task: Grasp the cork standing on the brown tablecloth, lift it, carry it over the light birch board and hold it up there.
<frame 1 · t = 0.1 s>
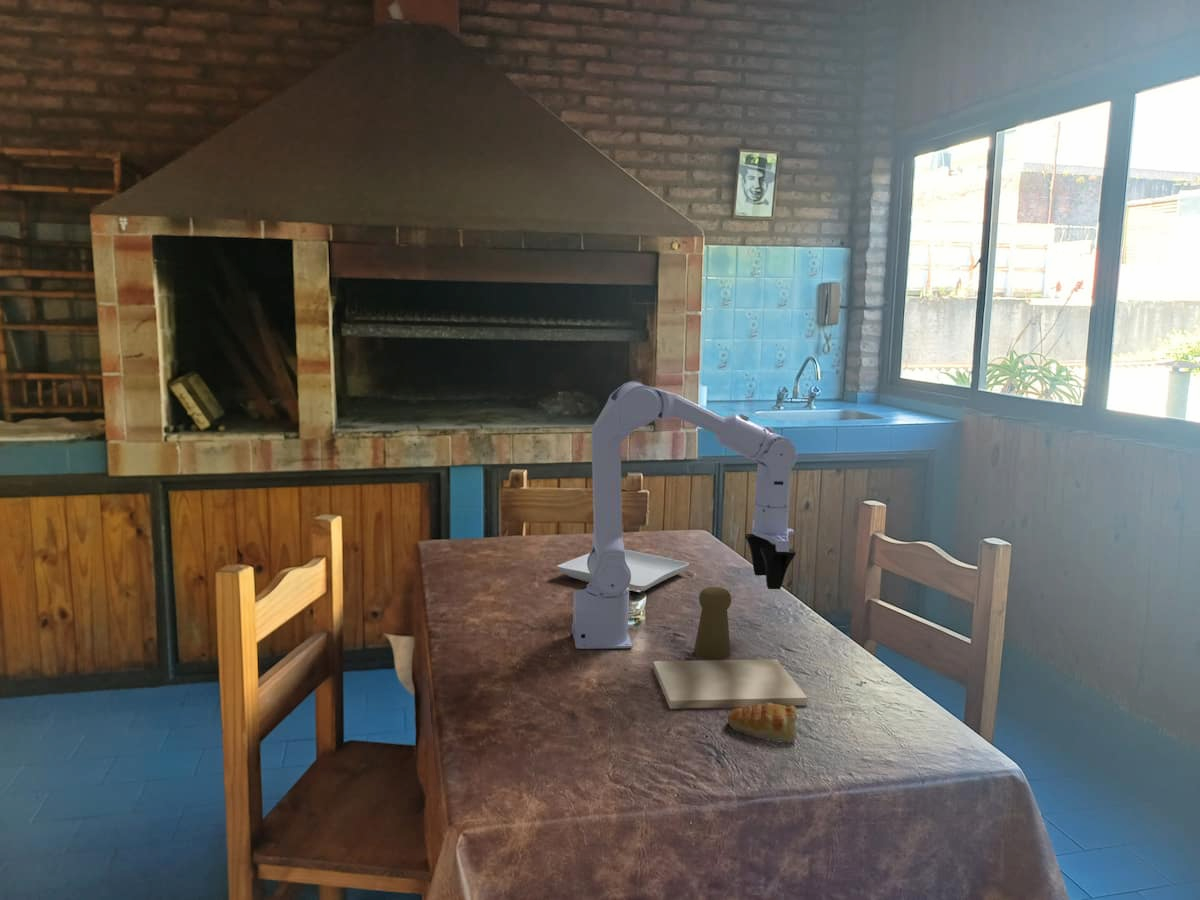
hand: (767, 581, 147), 10 cm above the table, tool pointing down, fingers open, 7 cm apart
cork: (712, 654, 141), on the table
pastry: (767, 733, 115), on the table
birch board: (726, 686, 129), on the table
salad plate: (623, 579, 182), on the table
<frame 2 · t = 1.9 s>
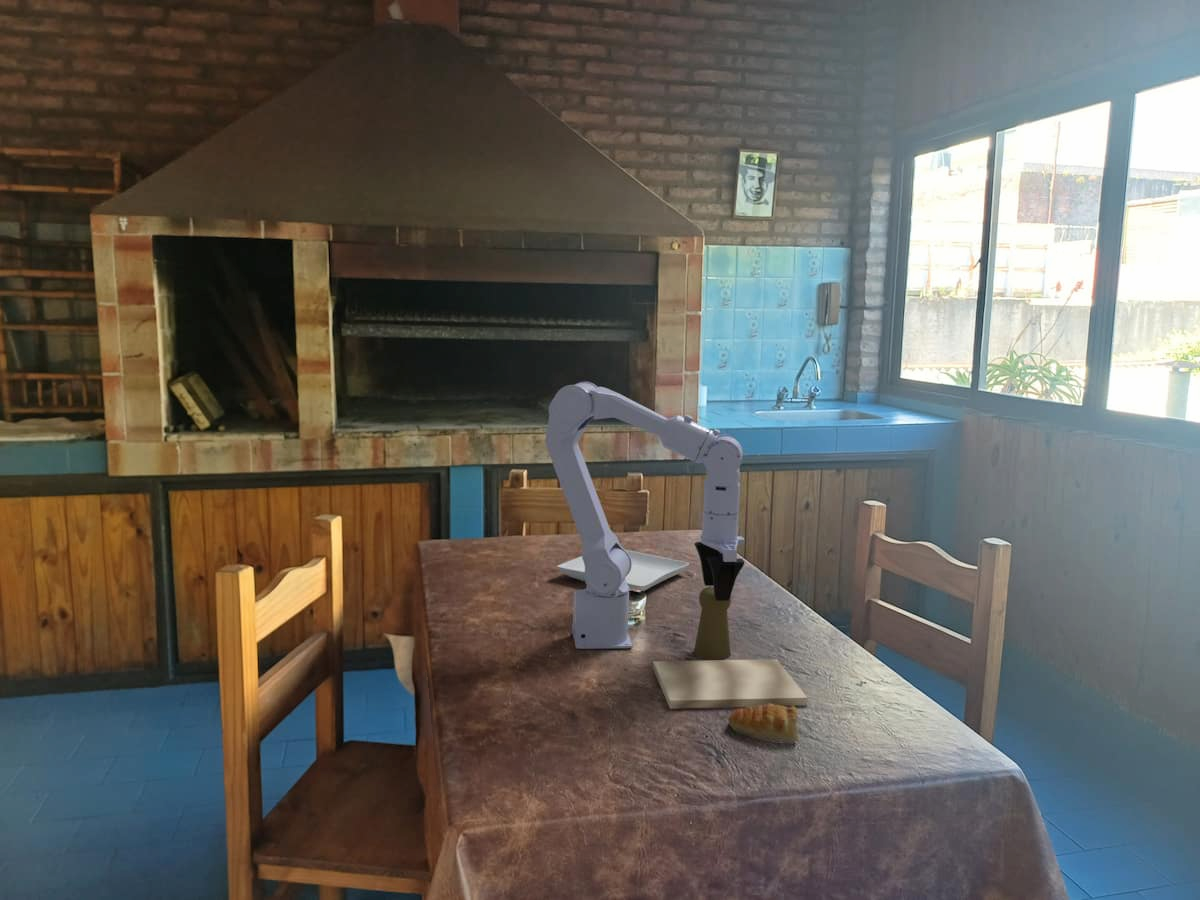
hand: (716, 592, 140), 10 cm above the table, tool pointing down, fingers open, 7 cm apart
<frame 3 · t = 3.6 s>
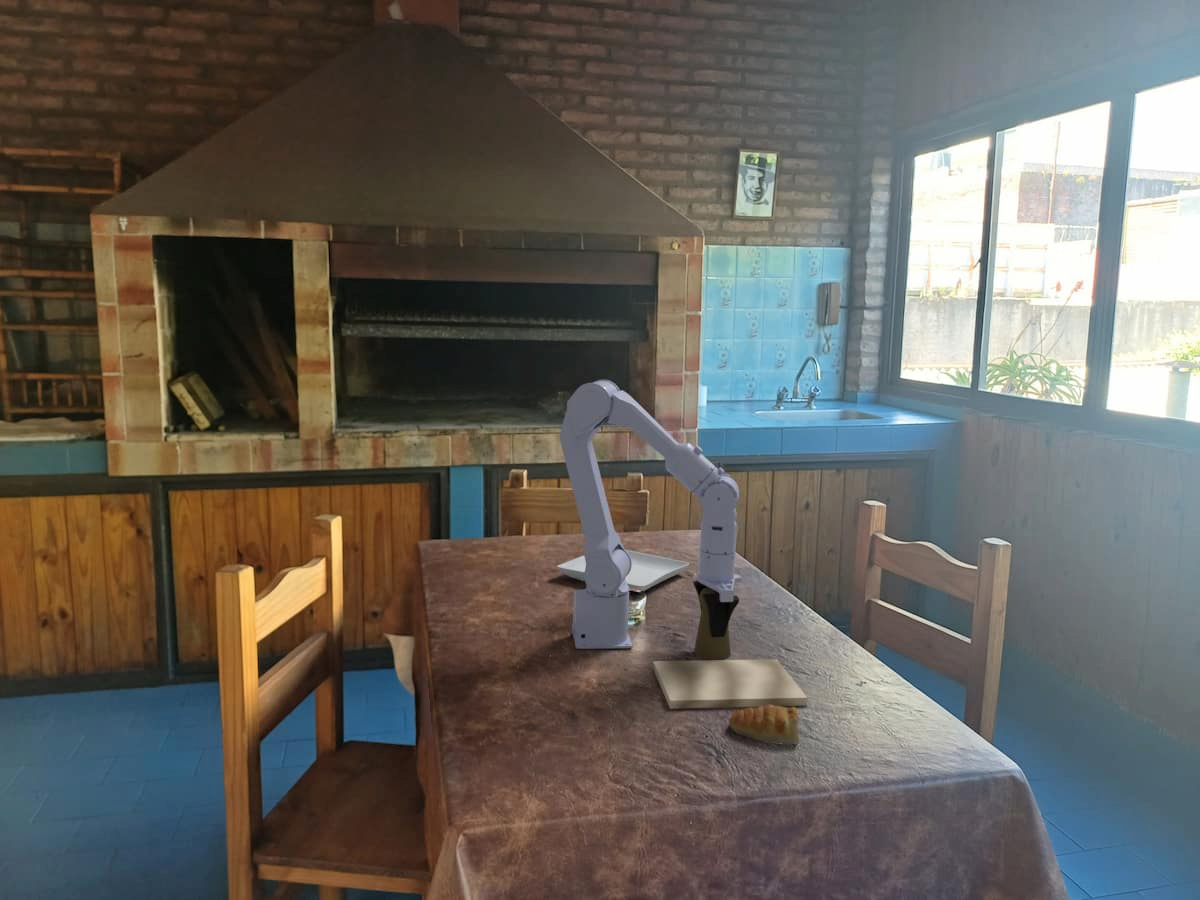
hand: (713, 630, 141), 4 cm above the table, tool pointing down, fingers closed on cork, 5 cm apart
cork: (712, 653, 141), on the table, touching gripper
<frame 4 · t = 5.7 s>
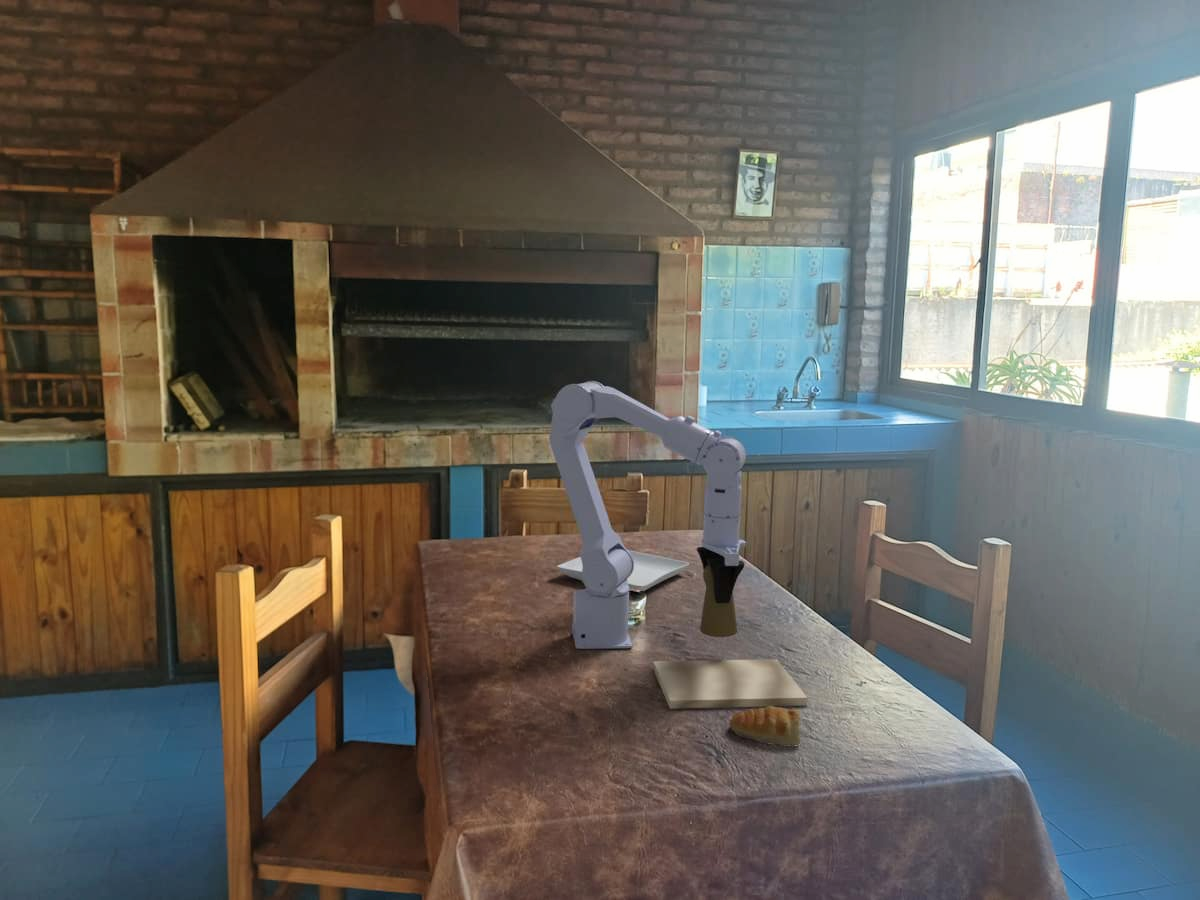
hand: (717, 596, 138), 10 cm above the table, tool pointing down, fingers closed on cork, 5 cm apart
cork: (718, 631, 139), point 5 cm above the table, touching gripper
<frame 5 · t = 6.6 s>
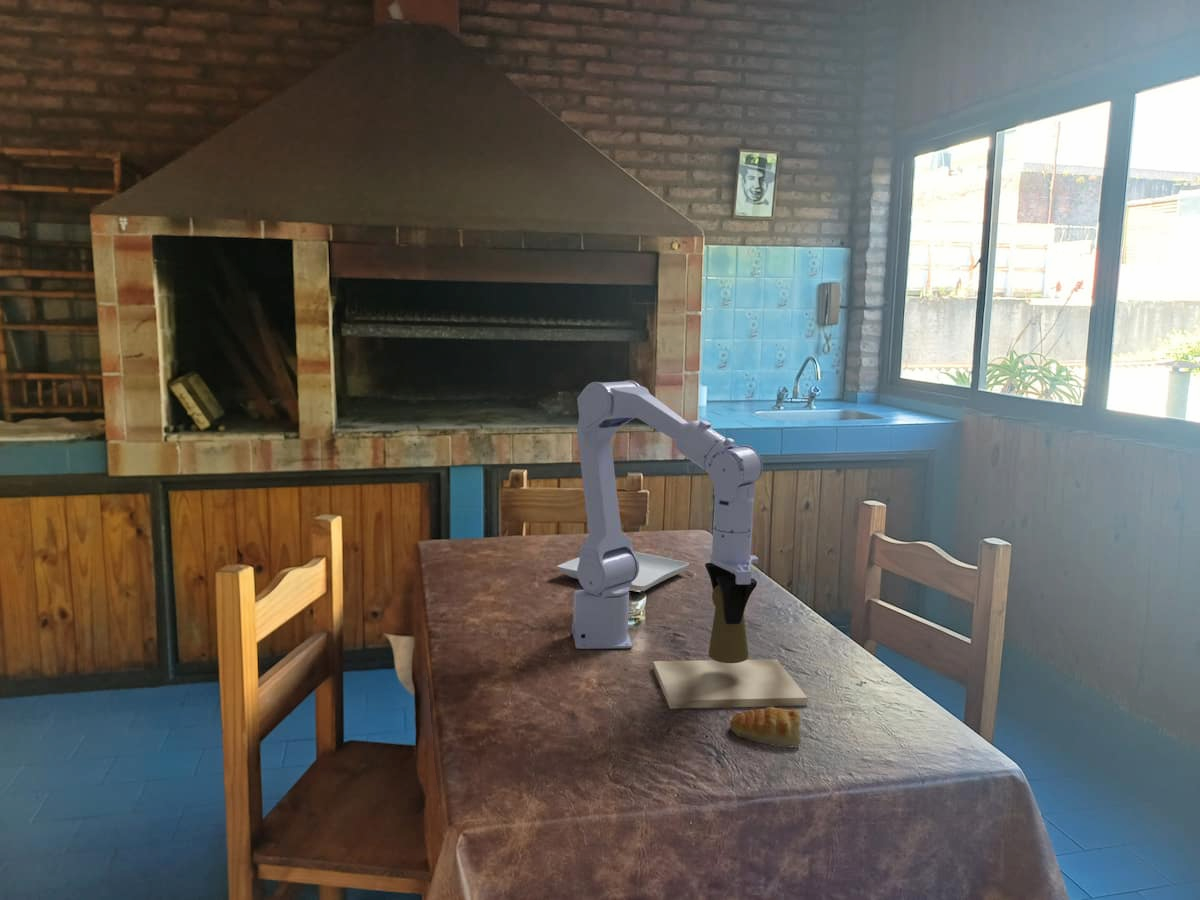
hand: (727, 616, 128), 10 cm above the table, tool pointing down, fingers closed on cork, 5 cm apart
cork: (728, 656, 130), point 4 cm above the table, touching gripper
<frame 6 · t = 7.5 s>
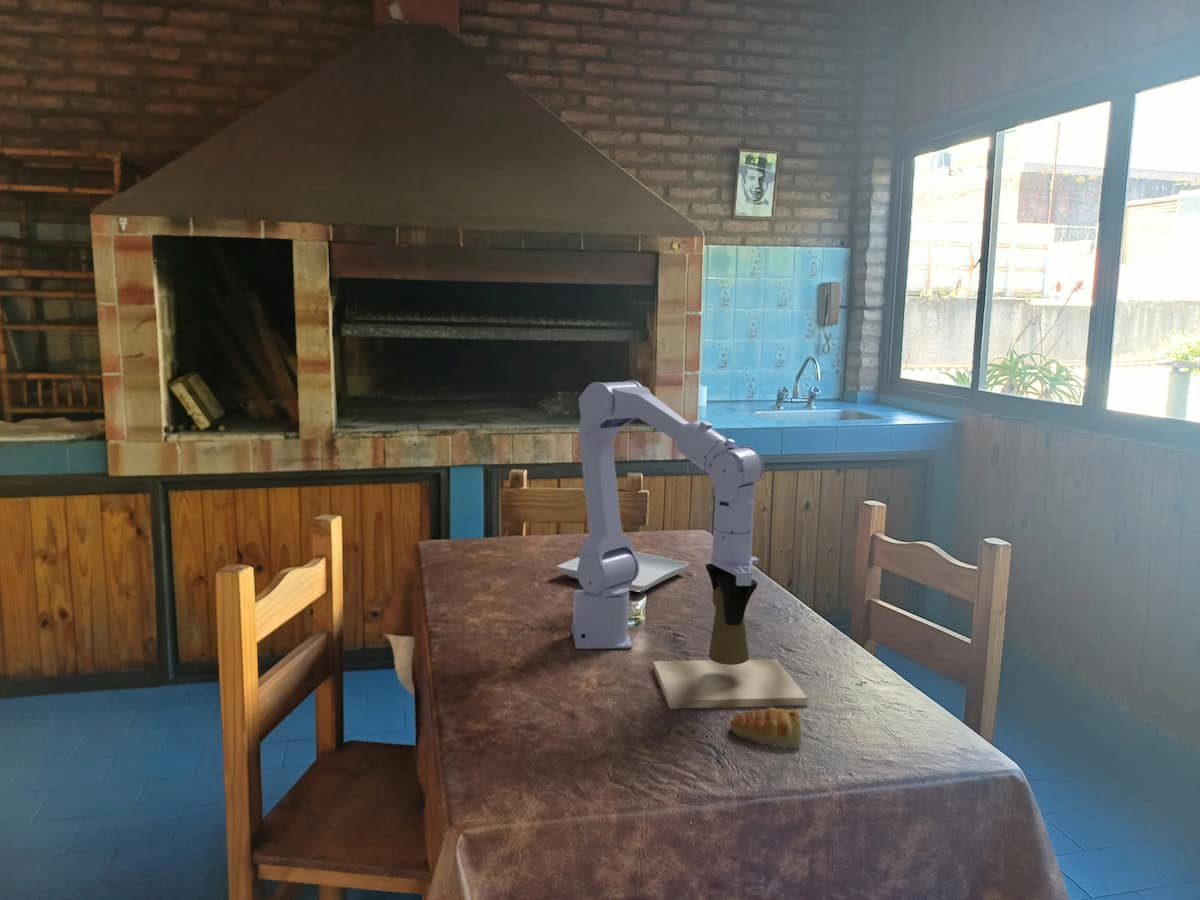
hand: (728, 617, 128), 10 cm above the table, tool pointing down, fingers closed on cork, 5 cm apart
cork: (728, 657, 129), point 4 cm above the table, touching gripper
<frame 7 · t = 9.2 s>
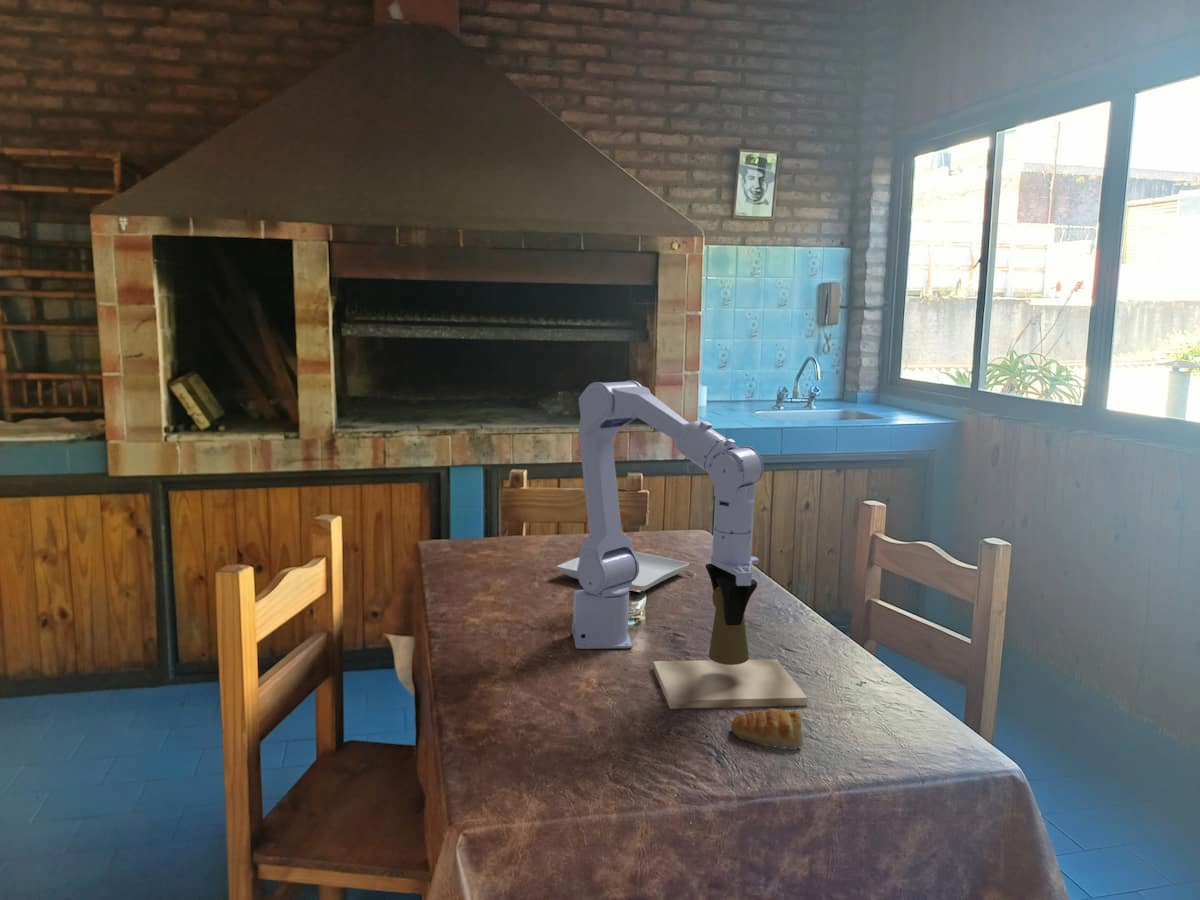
hand: (728, 617, 128), 10 cm above the table, tool pointing down, fingers closed on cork, 5 cm apart
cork: (728, 657, 129), point 4 cm above the table, touching gripper
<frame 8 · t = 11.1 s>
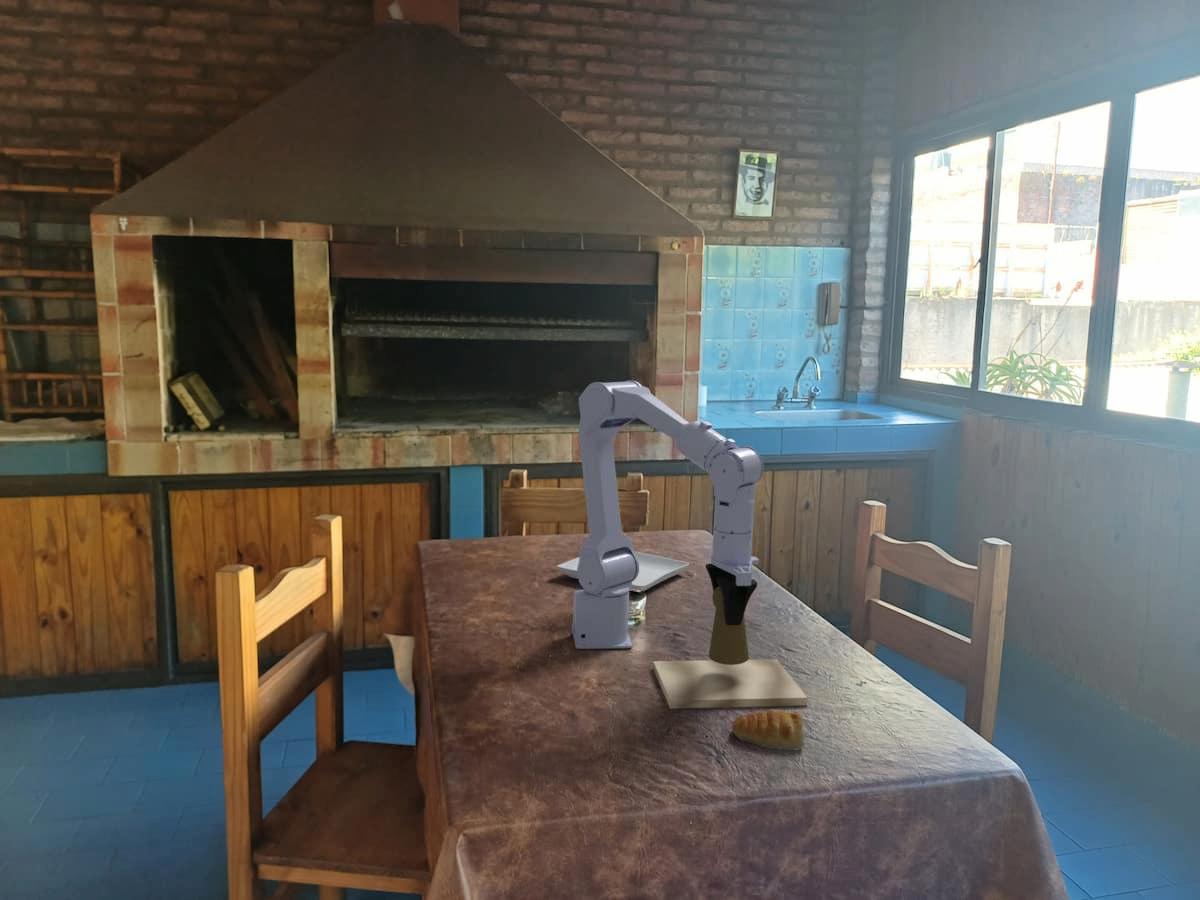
hand: (728, 617, 128), 10 cm above the table, tool pointing down, fingers closed on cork, 5 cm apart
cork: (728, 657, 129), point 4 cm above the table, touching gripper
at the end: the gripper is holding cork; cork point 4.0 cm above the table; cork inside the target area (0.6 cm from its centre), point 4.0 cm above the table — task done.
